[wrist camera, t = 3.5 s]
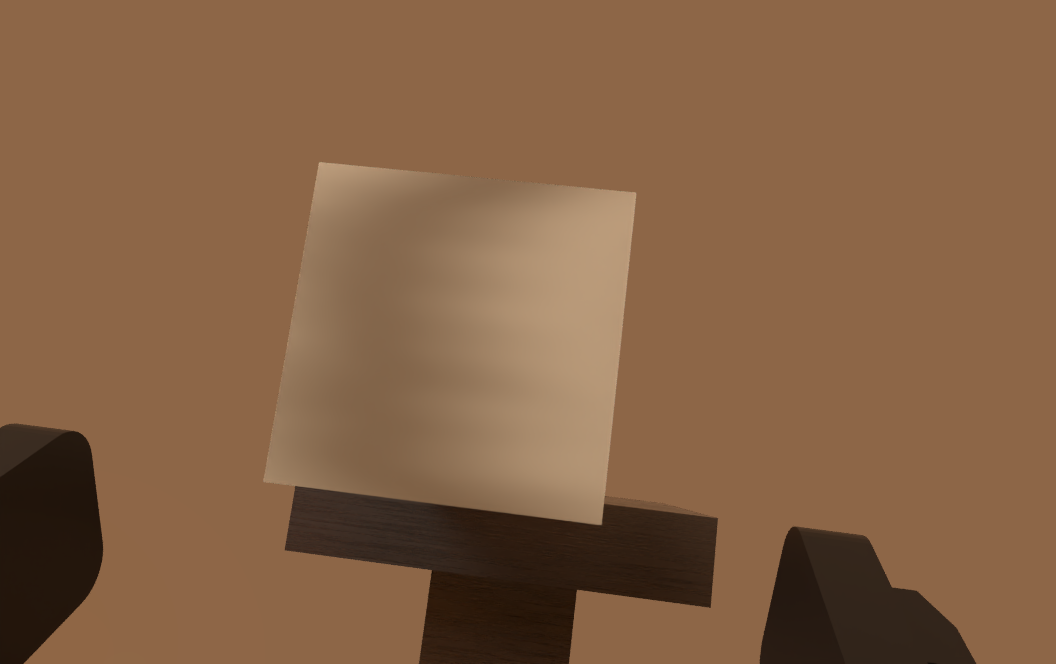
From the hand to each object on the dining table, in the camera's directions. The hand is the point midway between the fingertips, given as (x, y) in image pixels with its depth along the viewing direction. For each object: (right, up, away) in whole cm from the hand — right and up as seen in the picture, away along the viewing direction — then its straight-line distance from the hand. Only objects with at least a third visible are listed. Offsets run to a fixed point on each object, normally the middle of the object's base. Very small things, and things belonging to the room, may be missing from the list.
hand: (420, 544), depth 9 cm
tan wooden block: (+1, -2, +13) cm, 13 cm away
